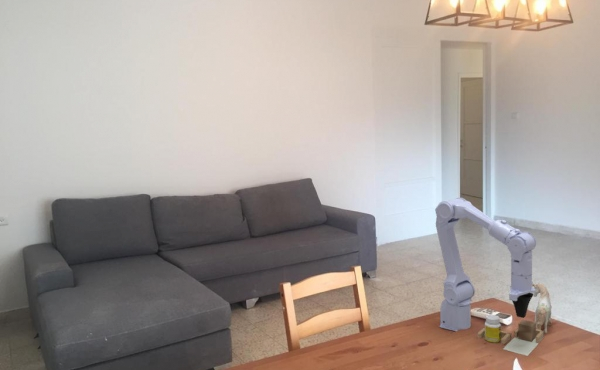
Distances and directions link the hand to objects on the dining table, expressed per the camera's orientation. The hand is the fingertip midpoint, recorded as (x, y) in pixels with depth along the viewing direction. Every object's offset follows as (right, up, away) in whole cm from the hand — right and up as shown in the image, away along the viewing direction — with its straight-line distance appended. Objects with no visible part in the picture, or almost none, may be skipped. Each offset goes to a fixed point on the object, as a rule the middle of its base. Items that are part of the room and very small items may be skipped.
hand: (521, 316), depth 150 cm
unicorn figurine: (+12, -8, +17) cm, 22 cm away
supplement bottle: (-6, -10, +7) cm, 14 cm away
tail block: (+5, -8, +6) cm, 11 cm away
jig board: (-2, -10, +7) cm, 12 cm away
